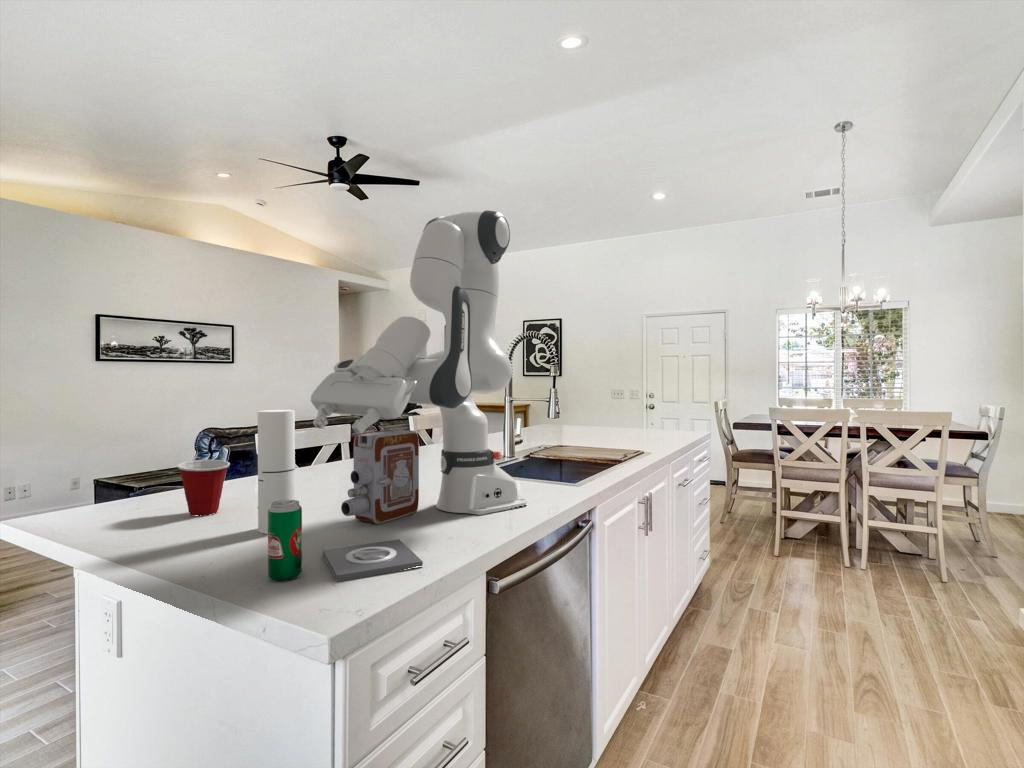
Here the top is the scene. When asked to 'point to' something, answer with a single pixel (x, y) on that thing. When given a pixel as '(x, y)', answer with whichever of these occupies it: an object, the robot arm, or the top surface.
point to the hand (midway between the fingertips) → (336, 428)
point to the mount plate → (370, 559)
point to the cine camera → (384, 476)
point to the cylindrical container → (275, 461)
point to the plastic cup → (203, 484)
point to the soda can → (284, 540)
